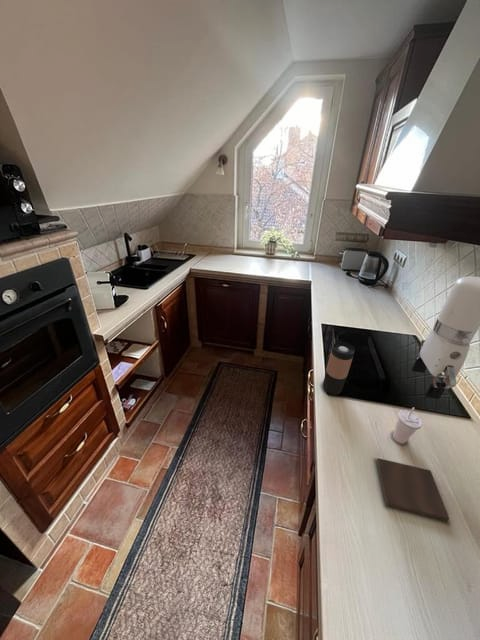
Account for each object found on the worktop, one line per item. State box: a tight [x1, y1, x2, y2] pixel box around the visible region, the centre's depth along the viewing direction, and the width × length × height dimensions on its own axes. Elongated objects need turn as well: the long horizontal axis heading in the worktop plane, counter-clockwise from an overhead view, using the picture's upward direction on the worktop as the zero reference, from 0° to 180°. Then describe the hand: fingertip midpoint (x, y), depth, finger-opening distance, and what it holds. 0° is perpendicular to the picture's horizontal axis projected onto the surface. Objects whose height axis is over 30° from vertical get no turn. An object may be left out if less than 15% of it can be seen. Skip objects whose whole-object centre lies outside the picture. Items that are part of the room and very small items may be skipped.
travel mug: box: [322, 341, 355, 396], centre depth 95 cm, size 8×8×20 cm
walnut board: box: [375, 457, 450, 522], centre depth 69 cm, size 14×12×2 cm
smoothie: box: [392, 406, 423, 445], centre depth 78 cm, size 6×6×14 cm
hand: (424, 383), depth 68 cm, fingers open, 9 cm apart
